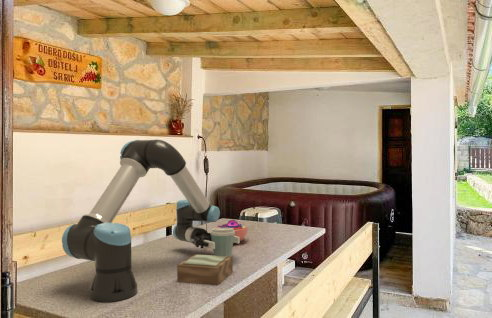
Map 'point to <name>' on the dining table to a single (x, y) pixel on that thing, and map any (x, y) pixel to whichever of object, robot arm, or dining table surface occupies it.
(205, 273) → the walnut stand
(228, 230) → the disposable coffee cup
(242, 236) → the cell model
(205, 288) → the dining table surface
